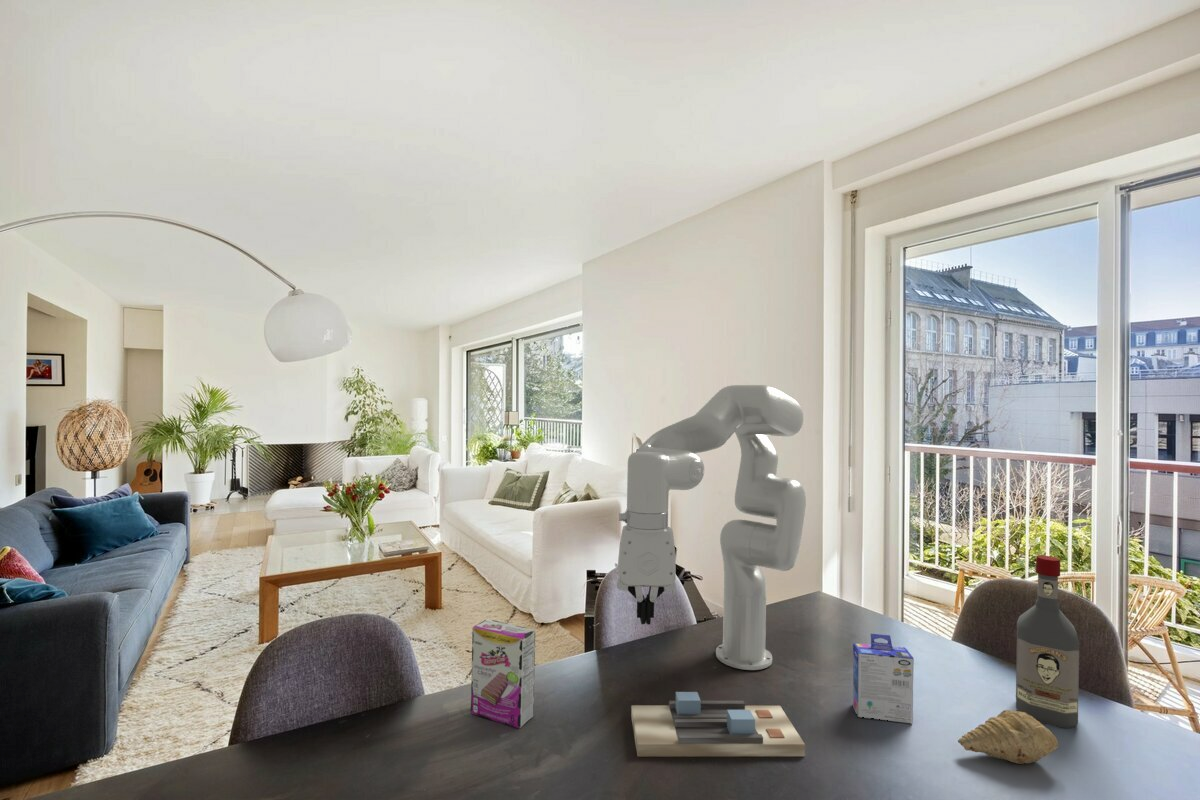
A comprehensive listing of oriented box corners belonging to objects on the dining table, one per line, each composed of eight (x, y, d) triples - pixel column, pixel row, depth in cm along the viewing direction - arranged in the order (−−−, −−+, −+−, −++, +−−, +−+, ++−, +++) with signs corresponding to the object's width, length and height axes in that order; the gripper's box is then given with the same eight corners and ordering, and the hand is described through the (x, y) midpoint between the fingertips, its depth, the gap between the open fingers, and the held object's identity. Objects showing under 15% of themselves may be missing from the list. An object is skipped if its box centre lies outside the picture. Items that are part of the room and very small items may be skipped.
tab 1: (675, 708, 105) (675, 691, 105) (697, 708, 105) (697, 691, 105) (678, 717, 102) (678, 700, 102) (700, 717, 102) (700, 700, 102)
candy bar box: (469, 715, 105) (470, 626, 105) (485, 702, 110) (486, 617, 110) (520, 731, 100) (521, 638, 101) (535, 716, 105) (536, 628, 105)
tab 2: (726, 727, 99) (727, 709, 99) (749, 727, 99) (749, 709, 99) (731, 737, 96) (731, 719, 96) (754, 737, 96) (755, 719, 96)
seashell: (980, 777, 90) (981, 726, 90) (946, 745, 98) (947, 699, 98) (1063, 775, 91) (1064, 725, 91) (1023, 745, 99) (1023, 699, 99)
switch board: (631, 716, 106) (631, 700, 106) (779, 716, 107) (780, 700, 107) (637, 756, 94) (637, 738, 94) (804, 756, 95) (805, 738, 95)
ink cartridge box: (905, 709, 110) (906, 634, 110) (915, 725, 105) (916, 646, 105) (850, 703, 112) (852, 629, 112) (857, 718, 107) (858, 641, 107)
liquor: (1015, 696, 116) (1018, 549, 116) (1073, 711, 110) (1076, 557, 110) (1016, 716, 108) (1019, 558, 108) (1078, 733, 103) (1081, 567, 103)
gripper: (606, 524, 99) (604, 629, 99) (692, 525, 99) (690, 630, 99) (605, 515, 106) (603, 613, 106) (684, 516, 107) (682, 614, 107)
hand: (645, 621), depth 103 cm, fingers closed
